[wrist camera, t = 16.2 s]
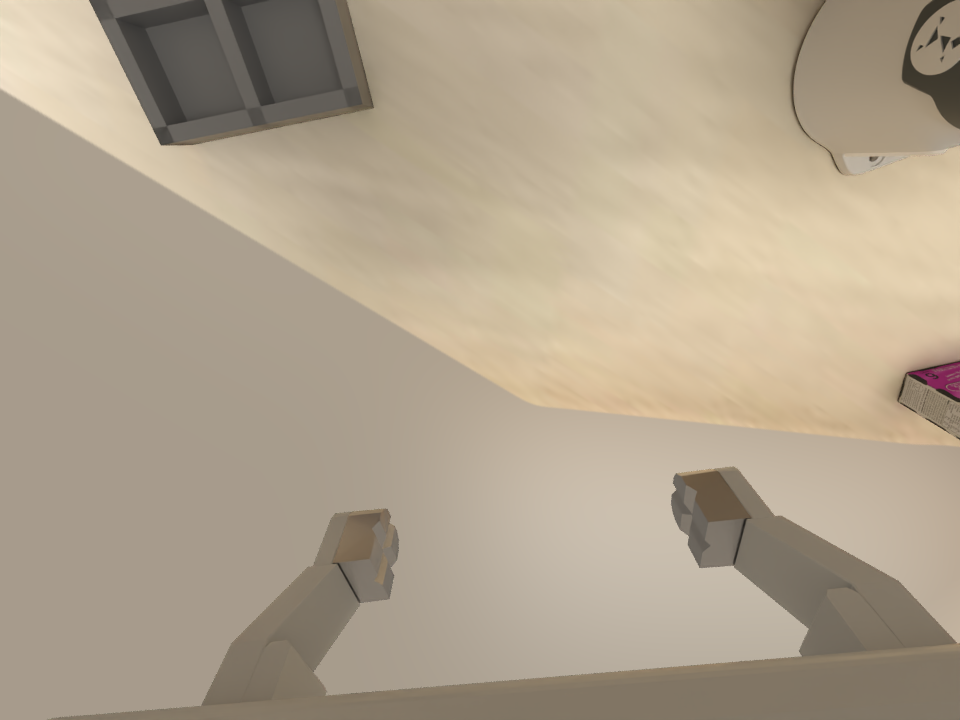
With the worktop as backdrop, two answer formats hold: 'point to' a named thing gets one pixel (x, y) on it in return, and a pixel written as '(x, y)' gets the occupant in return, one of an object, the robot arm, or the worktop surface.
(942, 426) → the candy bar box
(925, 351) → the worktop surface
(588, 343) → the worktop surface
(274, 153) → the worktop surface
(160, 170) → the worktop surface
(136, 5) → the egg carton
